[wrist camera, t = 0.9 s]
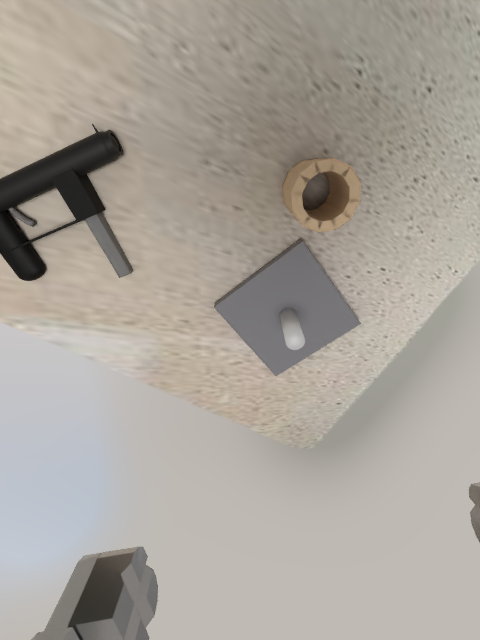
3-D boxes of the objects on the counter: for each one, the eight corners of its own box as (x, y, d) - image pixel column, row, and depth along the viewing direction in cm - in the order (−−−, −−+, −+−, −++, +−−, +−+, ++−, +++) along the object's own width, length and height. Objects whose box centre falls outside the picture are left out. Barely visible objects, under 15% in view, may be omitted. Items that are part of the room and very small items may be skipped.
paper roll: (319, 146, 36) (337, 142, 29) (348, 194, 38) (372, 202, 31) (272, 185, 38) (278, 190, 31) (302, 229, 40) (315, 244, 33)
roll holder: (301, 238, 41) (313, 256, 33) (357, 318, 45) (380, 350, 38) (215, 302, 44) (208, 332, 37) (275, 370, 49) (280, 408, 42)
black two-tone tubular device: (171, 259, 40) (97, 114, 33) (35, 311, 43) (-59, 191, 36) (175, 251, 43) (109, 116, 36) (48, 300, 46) (-37, 187, 39)
